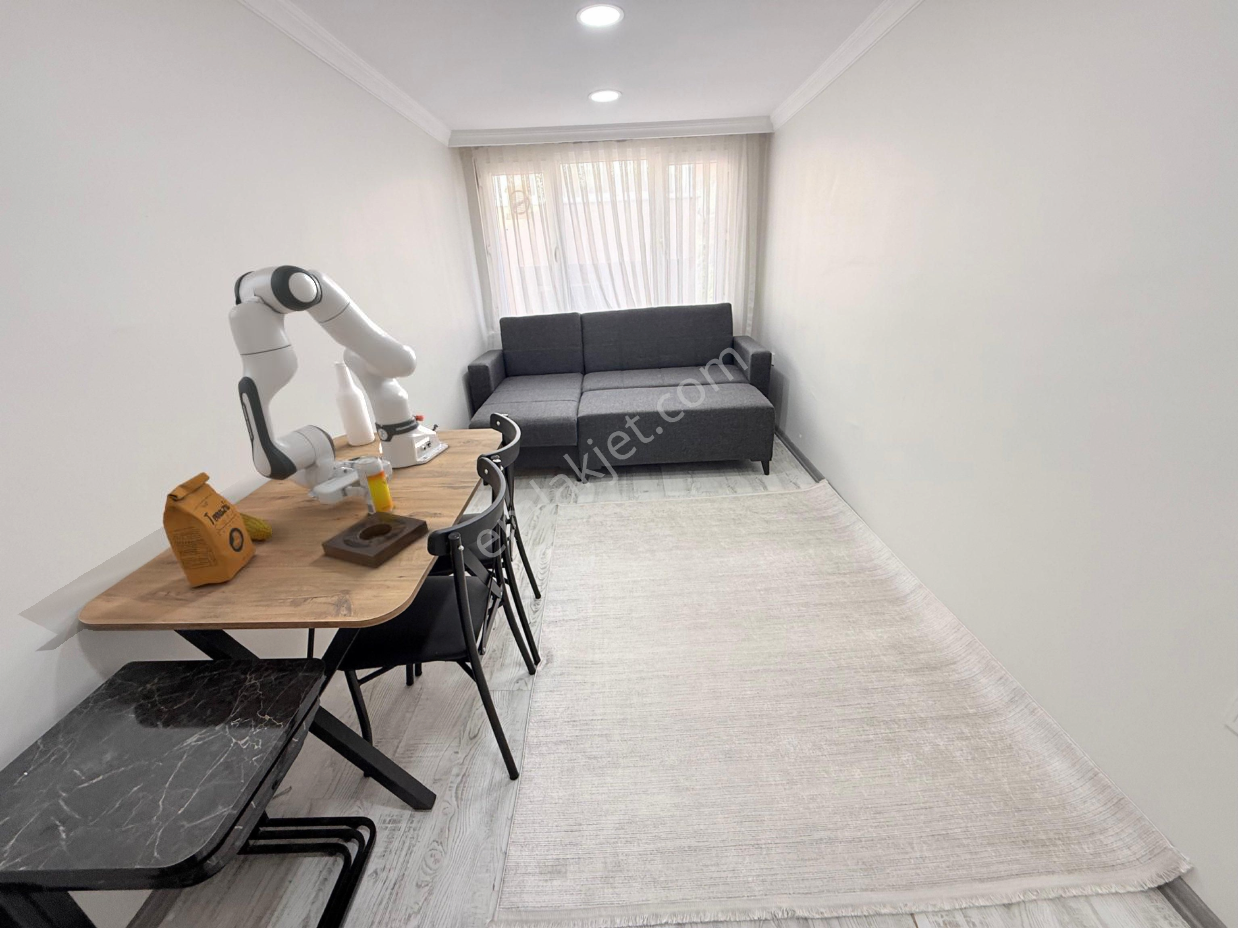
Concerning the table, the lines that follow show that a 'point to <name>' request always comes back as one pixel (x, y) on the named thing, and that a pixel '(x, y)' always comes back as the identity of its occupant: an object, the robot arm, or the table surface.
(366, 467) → the beer can
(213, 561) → the coffee package
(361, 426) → the alcohol
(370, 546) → the holder
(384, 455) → the robot arm
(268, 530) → the food
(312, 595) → the table surface
